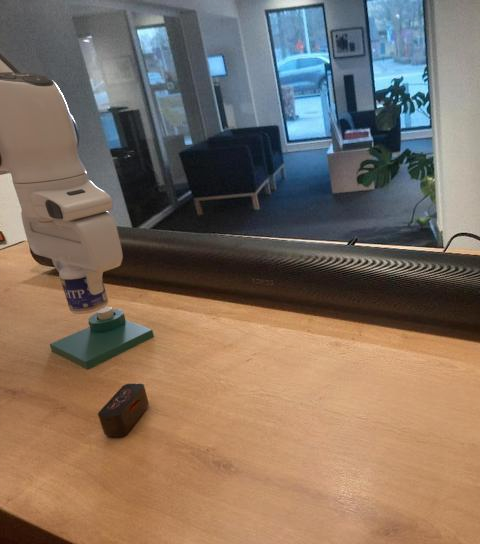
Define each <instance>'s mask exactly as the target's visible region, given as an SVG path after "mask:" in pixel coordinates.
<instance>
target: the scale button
mask: <svg viewBox="0 0 480 544" xmlns="http://www.w3.org/2000/svg"><path fill="white" fill-rule="evenodd" d="M113 309H114V308H113V307H112V306H105V307H104V308H102V309H100V310H98V311H95V312H96V313H97V316H98V319H99V320H106V319H109V318H112V317H114V313H113ZM96 313H95V314H96Z"/></svg>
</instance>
